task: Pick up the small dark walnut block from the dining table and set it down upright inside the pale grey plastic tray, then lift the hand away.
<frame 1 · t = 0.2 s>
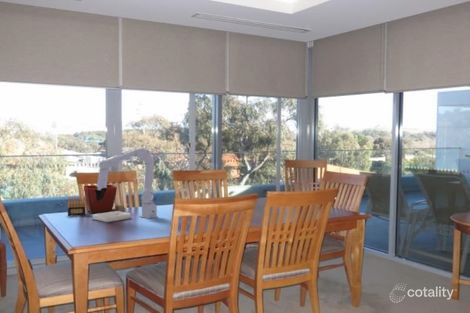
hand: (99, 199, 290), 10 cm above the table, tool pointing down, fingers open, 7 cm apart
tray: (111, 218, 281), on the table
plant pot: (100, 211, 310), on the table
ammunition clip: (76, 215, 294), on the table
walnut block: (119, 214, 296), on the table
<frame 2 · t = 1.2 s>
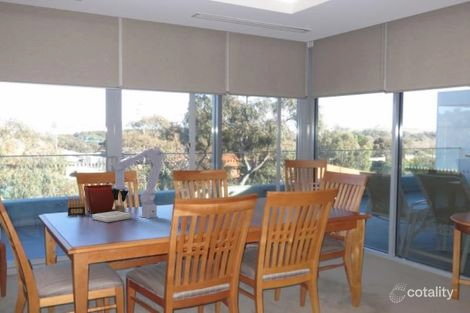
hand: (119, 200, 295), 9 cm above the table, tool pointing down, fingers open, 7 cm apart
nothing on the table moved.
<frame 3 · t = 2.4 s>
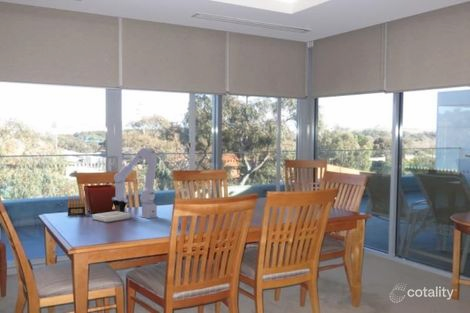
hand: (119, 212, 296), 2 cm above the table, tool pointing down, fingers closed on walnut block, 4 cm apart
walnut block: (119, 214, 296), on the table, touching gripper
everything else where it was.
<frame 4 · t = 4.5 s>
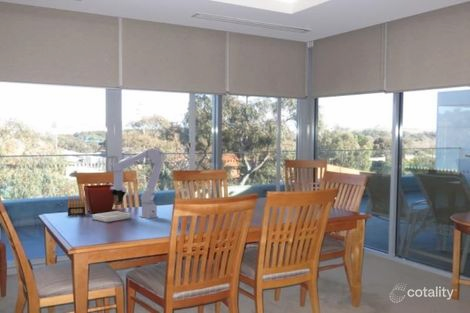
hand: (118, 201, 292), 9 cm above the table, tool pointing down, fingers closed on walnut block, 4 cm apart
walnut block: (118, 204, 292), point 7 cm above the table, touching gripper
everything else where it was.
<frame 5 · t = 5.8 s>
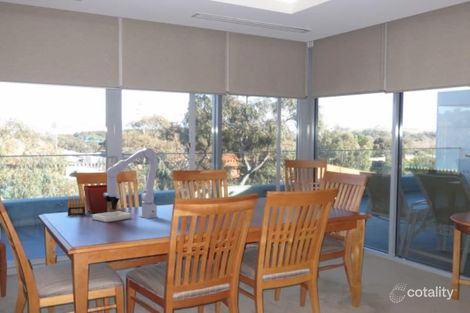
hand: (111, 208, 281), 6 cm above the table, tool pointing down, fingers closed on walnut block, 4 cm apart
walnut block: (111, 211, 281), point 5 cm above the table, touching gripper
everything else where it was.
when the fingers open (4 cm above the table, at t = 6.7 s): walnut block drops 1 cm, resting on tray.
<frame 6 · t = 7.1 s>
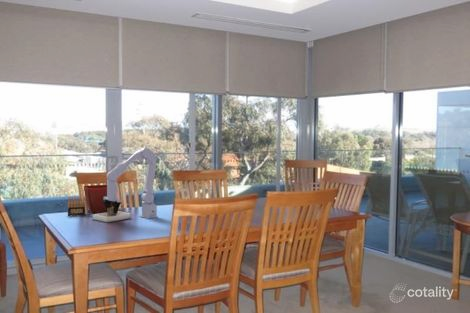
hand: (111, 212, 281), 4 cm above the table, tool pointing down, fingers open, 7 cm apart
walnut block: (111, 217, 281), point 1 cm above the table, touching tray
everything else where it was.
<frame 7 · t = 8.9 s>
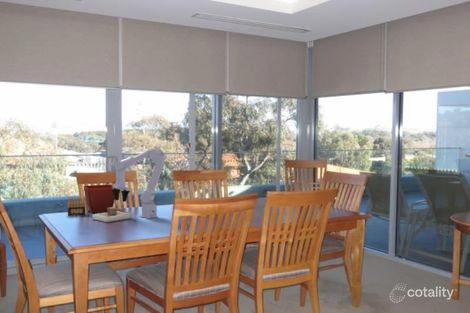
hand: (120, 200, 294), 9 cm above the table, tool pointing down, fingers open, 7 cm apart
nothing on the table moved.
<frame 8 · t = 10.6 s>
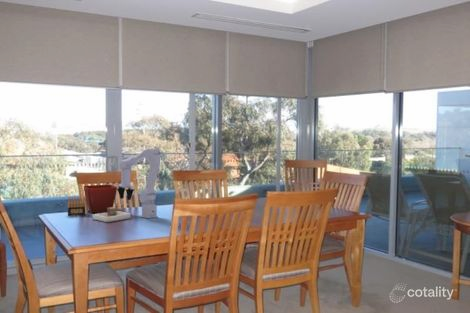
hand: (125, 199, 301), 9 cm above the table, tool pointing down, fingers open, 7 cm apart
nothing on the table moved.
at the end: walnut block inside the target area on the tray (0.1 cm from its centre), point 0.8 cm above the tray's base; walnut block tilted 0°; the gripper is holding nothing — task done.
